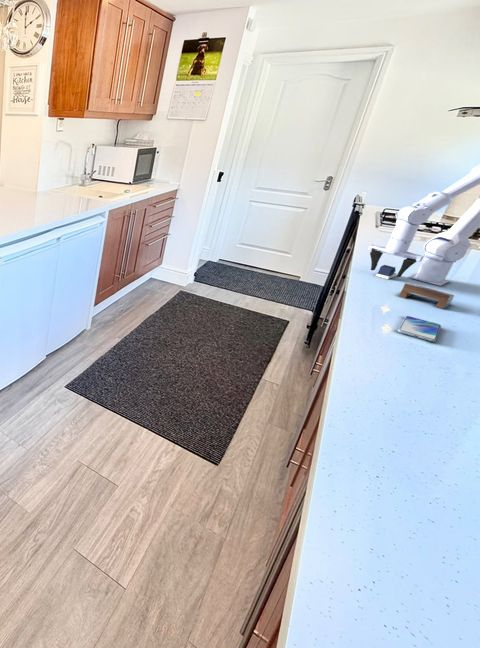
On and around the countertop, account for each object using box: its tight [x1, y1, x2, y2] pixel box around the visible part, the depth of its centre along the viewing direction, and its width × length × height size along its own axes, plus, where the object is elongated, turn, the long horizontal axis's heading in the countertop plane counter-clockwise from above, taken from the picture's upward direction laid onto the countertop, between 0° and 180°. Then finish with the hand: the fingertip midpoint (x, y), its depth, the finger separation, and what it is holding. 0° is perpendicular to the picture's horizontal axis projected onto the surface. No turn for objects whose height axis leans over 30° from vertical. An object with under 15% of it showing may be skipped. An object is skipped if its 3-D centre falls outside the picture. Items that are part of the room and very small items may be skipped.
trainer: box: [375, 264, 398, 280], centre depth 154 cm, size 8×4×4 cm, turn 120°
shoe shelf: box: [398, 283, 456, 310], centre depth 133 cm, size 7×10×5 cm
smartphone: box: [397, 315, 442, 343], centre depth 113 cm, size 7×1×15 cm
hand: (385, 273), depth 153 cm, fingers open, 7 cm apart
